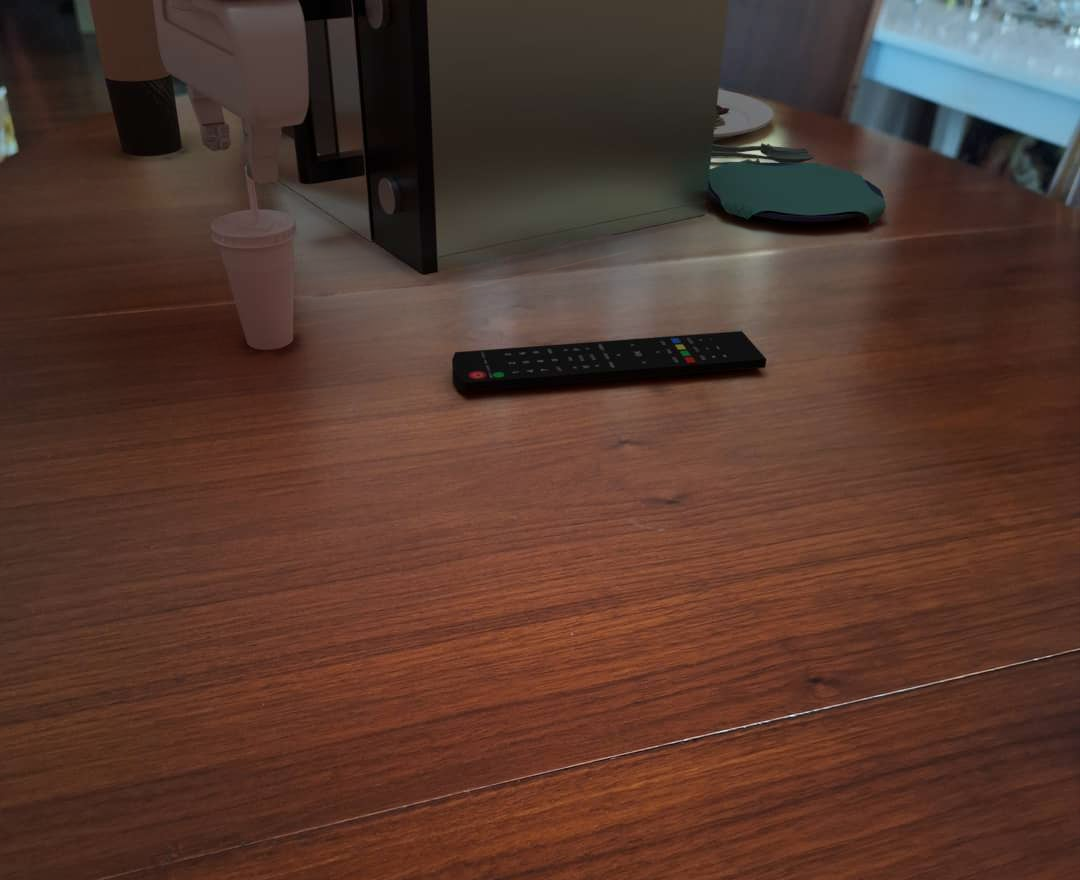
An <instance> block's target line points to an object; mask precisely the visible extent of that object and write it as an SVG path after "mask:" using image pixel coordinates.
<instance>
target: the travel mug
mask: <svg viewBox="0 0 1080 880" xmlns="http://www.w3.org/2000/svg"><path fill="white" fill-rule="evenodd" d="M88 2H89V6H90V13H91V17H92V23H93V27H94V32H95V37H96V41H97V47H98V52H99V56H100V62H101V67H102V72H103V77H104V80H105V85H106V89H107V93H108V97H109V101H110V106H111V109H112V114H113V118H114V122H115V127H116V130H117V134H118V139H119V142H120V146H121V149H122V152H123V153H125V154H126V155H129V156H135V157H155V156H164V155H169V154H173V153H176V152H178V151H180V150H181V149H182V145H183V144H182V137H181V136H182V135H181V129H180V123H179V115H178V109H177V103H176V95H175V87H174V81H173V75H171V74H169V73H168V72H167V71H166V69H165V67H164V64H163V62H162V58H161V55H160V51H159V45H158V38H157V30H156V23H155V14H154V6H153V0H88Z"/></svg>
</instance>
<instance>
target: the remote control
mask: <svg viewBox="0 0 1080 880" xmlns="http://www.w3.org/2000/svg"><path fill="white" fill-rule="evenodd" d="M451 365H452V366H451V367H452V368H451V370H452V385H453V386H454V388H455V390H456V391H457V392H463V393H464V392H477V391H478V392H479V391H489V390H501V389H502V390H503V389H516V388H524V387H525V388H527V387H539V386H540V387H541V386H552V385H564V384H576V383H589V382H602V381H612V380H614V381H616V380H628V379H639V378H652V377H653V378H654V377H663V376H676V375H677V376H678V375H687V374H700V373H701V374H702V373H712V372H713V373H714V372H725V371H726V372H727V371H739V370H751V369H763V368H764V369H765V368H766V365H767V358H766V356H765V355H763V352H761V351H760V349H758V347H757V346H756V345H755V344H754V343H753V342H752V341H751V340H750V338H749V336H747V335H746V333H744V332H743V331H742V330H735V331H726V332H724V331H723V332H710V333H709V332H708V333H696V334H682V335H670V336H669V335H668V336H655V337H642V338H629V339H628V338H627V339H618V340H617V339H614V340H602V341H589V342H587V341H585V342H575V343H574V342H572V343H562V344H561V343H560V344H559V343H558V344H546V345H533V346H522V347H521V346H520V347H507V348H506V347H505V348H491V349H479V350H465V351H455V352H454V354H453V357H452V359H451Z"/></svg>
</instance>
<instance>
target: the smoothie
mask: <svg viewBox="0 0 1080 880" xmlns="http://www.w3.org/2000/svg"><path fill="white" fill-rule="evenodd" d="M243 167H244V174H245V180H246V187H247V195H248V201H249V209H244V210H238V211H233V212H228V213H226V214H223V215H221V216H219V217H216V218H215V219H214V220H213V221H211V223H210V230H211V240H212V241H213V242H214V243H215V244H217V245H218V249H219V253H220V257H221V260H222V264H223V266H224V270H225V273H226V277H227V280H228V283H229V287H230V291H231V294H232V297H233V300H234V303H235V307H236V310H237V314H238V317H239V321H240V324H241V327H242V330H243V333H244V334H243V335H244V338H245V341H246V344H247V346H249V347H250V348H253V349H255V350H260V351H261V350H263V351H269V350H271V351H272V350H278V349H281V348H285V347H287V346H288V345H290V344H291V343H292V342H293V341H294V256H295V255H294V253H295V252H294V239H295V238H296V236H297V235H298V230H297V225H296V218H295V217H293V216H292V215H291V214H289V213H286V212H283V211H280V210H276V209H275V210H274V209H259V204H258V198H257V190H256V182H254V181H253V180H252V179H250V178H249V177H248V175H247V167H246V164H244V166H243Z"/></svg>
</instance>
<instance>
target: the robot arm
mask: <svg viewBox="0 0 1080 880" xmlns="http://www.w3.org/2000/svg"><path fill="white" fill-rule="evenodd" d="M153 6H154V14H155V23H156V30H157V38H158V45H159V51H160V55H161V58H162V62H163V64H164V67H165V69H166V71H167V72H168V73H169V74H171V75H172V77H174V78H175V79H177V80H179V81H181V82H182V83H183V84H185V85H186V88H187V95H188V98H189V102H190V104H191V107H192V109H193V113H194V115H195V118H196V120H197V122H198V126H199V132H200V139H201V143H202V145H203V146H204V147H206V148H207V149H208V150H210V151H212V152H219V151H226V150H229V148H231V145H232V141H231V137H230V127H229V124H228V123H227V122H226V120H225V116H224V111H223V108H224V109H225V110H227V111H229V112H230V113H232V114H233V115H235V116H236V117H238V118H240V119H241V120H242V119H243V123H244V130H245V133H247V134H248V154H247V153H245V154H243V155H244V162H245V165H246V167H247V175H248V177H249V178H250V179H252V180H253V181H254V183H255V184H257V185H260V186H262V185H269V184H275V183H276V182H277V181H278V177H279V174H278V164H277V155H278V150H279V145H280V140H281V135H282V131H281V127H285V126H292V125H298V124H301V123H302V122H303V121H304V119H305V116H306V113H307V109H308V105H309V78H308V57H307V42H306V30H305V22H304V16H303V11H302V8H301V5H300V3H299V1H298V0H153Z"/></svg>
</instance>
